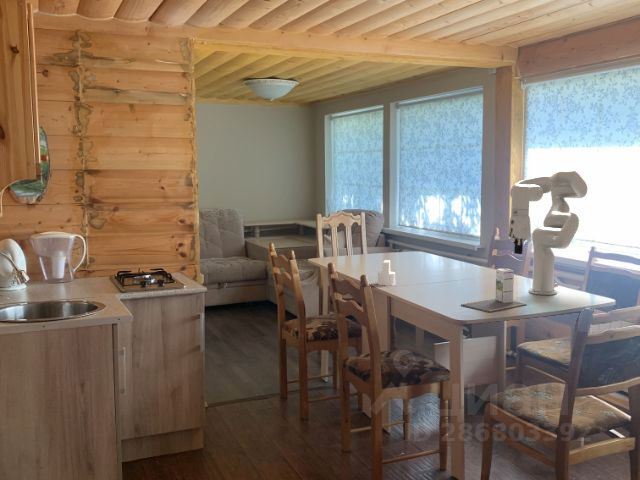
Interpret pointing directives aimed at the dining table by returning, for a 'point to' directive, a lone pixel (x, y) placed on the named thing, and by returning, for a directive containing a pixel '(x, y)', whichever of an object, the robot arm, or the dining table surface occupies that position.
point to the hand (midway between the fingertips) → (518, 253)
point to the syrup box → (504, 285)
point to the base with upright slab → (386, 275)
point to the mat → (492, 305)
